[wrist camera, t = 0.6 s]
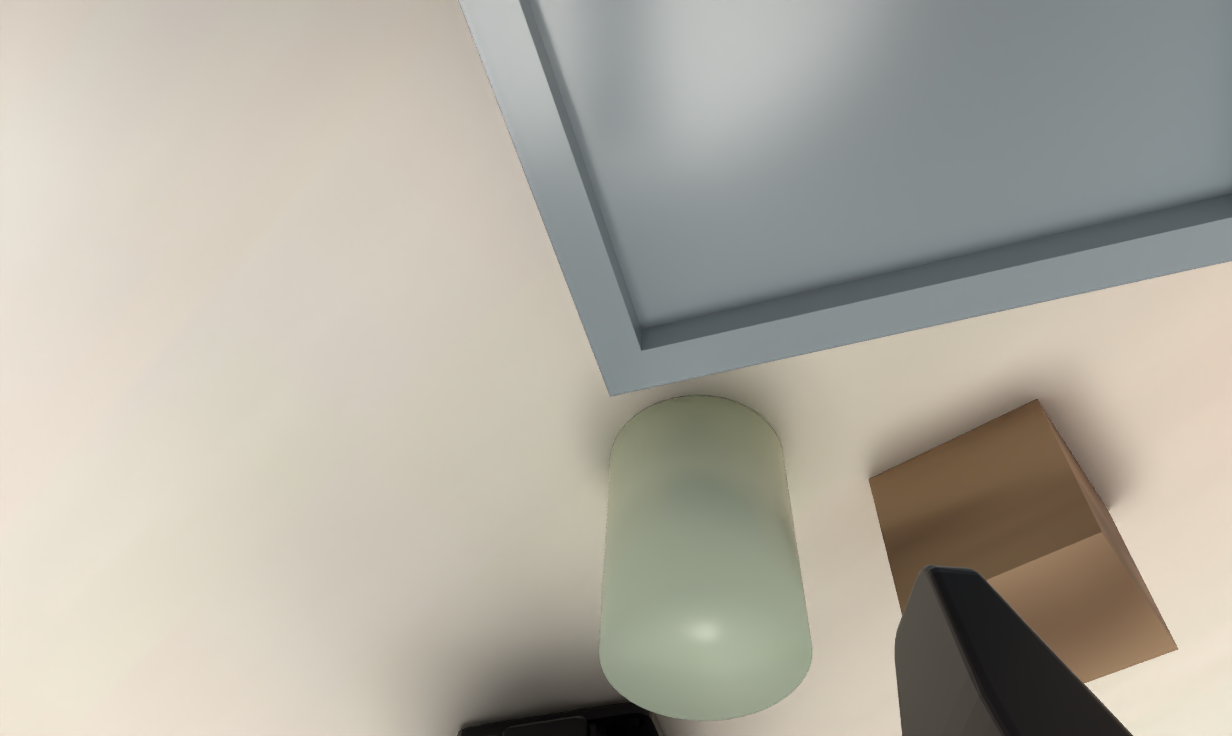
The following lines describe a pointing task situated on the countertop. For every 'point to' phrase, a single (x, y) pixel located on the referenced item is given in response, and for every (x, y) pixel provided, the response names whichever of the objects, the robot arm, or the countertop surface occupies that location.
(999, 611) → the robot arm
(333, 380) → the countertop surface
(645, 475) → the sage green capsule
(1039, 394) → the countertop surface
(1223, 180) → the dish
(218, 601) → the countertop surface
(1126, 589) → the walnut block
